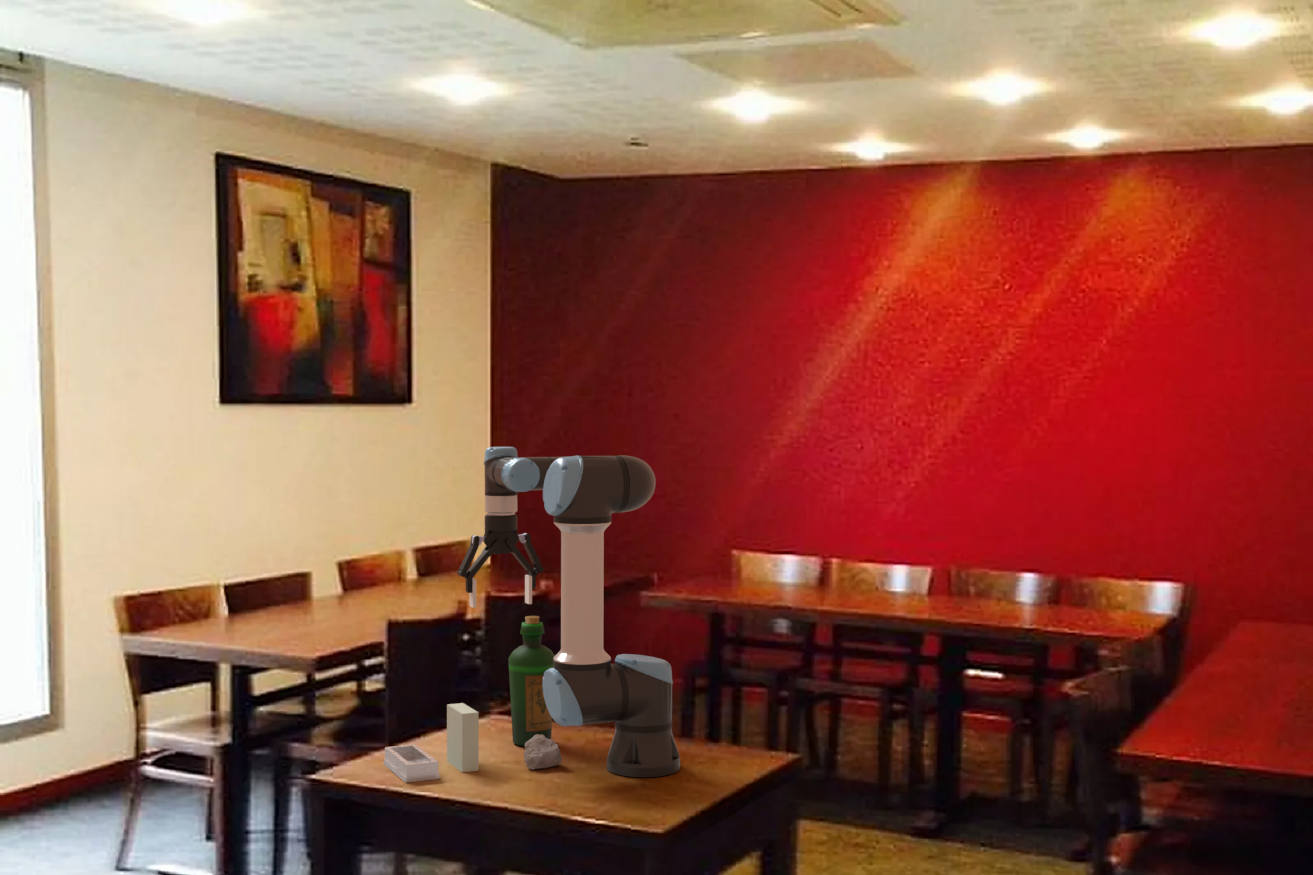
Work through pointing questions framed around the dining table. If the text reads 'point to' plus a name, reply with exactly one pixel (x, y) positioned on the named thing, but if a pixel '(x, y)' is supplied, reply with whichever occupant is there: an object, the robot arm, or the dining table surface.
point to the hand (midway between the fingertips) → (500, 605)
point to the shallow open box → (411, 763)
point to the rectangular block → (463, 737)
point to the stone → (541, 752)
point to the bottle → (529, 684)
